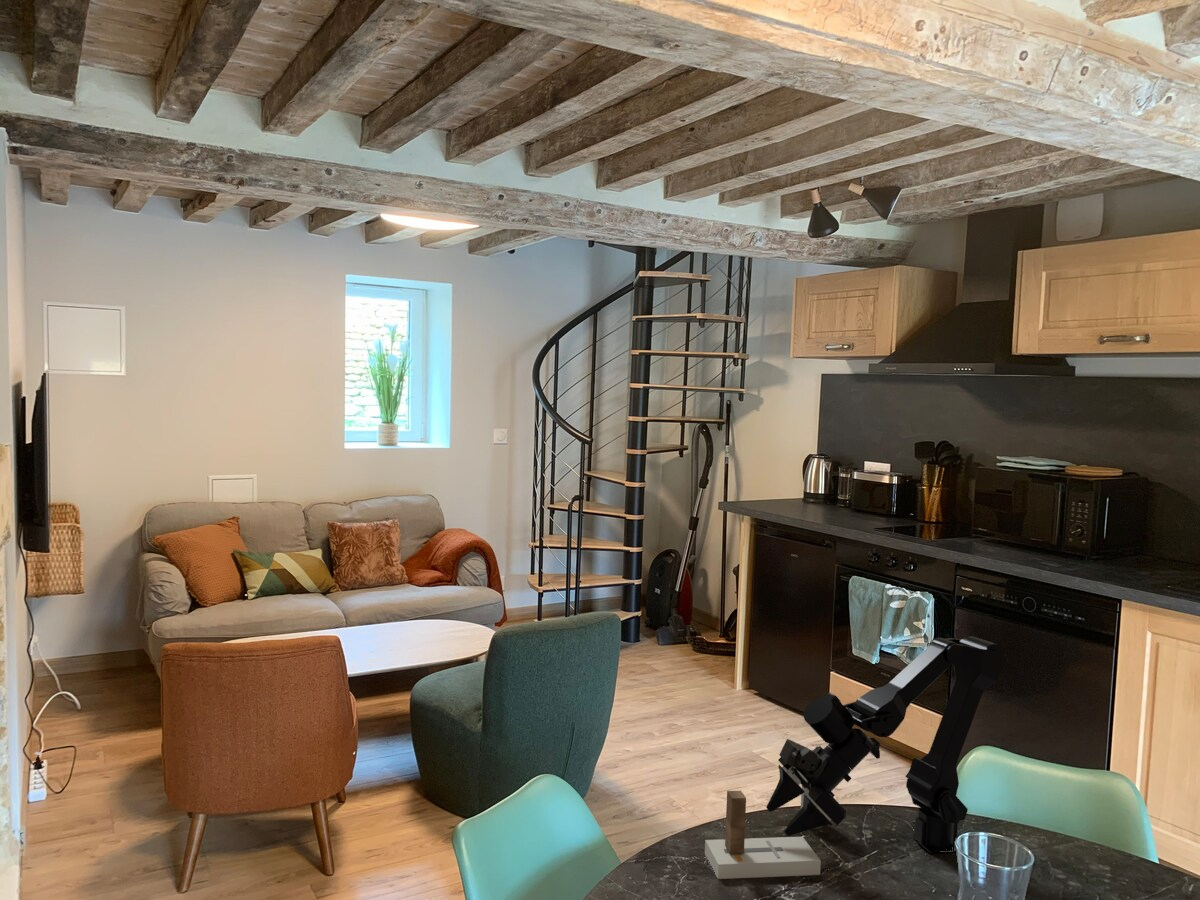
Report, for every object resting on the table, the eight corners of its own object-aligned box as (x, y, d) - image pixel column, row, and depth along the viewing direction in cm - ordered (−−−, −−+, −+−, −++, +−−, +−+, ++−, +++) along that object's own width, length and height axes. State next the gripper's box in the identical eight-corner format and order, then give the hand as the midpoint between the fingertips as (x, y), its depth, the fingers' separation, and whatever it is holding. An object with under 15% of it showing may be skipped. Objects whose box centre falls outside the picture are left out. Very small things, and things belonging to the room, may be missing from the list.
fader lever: (738, 844, 157) (741, 790, 157) (743, 853, 154) (746, 797, 154) (724, 845, 157) (727, 790, 156) (729, 853, 154) (732, 798, 153)
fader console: (801, 850, 162) (802, 835, 162) (820, 874, 153) (820, 859, 153) (704, 853, 159) (705, 839, 159) (717, 879, 151) (718, 863, 150)
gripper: (790, 708, 165) (730, 769, 164) (830, 746, 147) (763, 814, 146) (829, 749, 167) (770, 809, 166) (874, 792, 148) (807, 860, 147)
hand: (776, 821), depth 156 cm, fingers open, 9 cm apart
